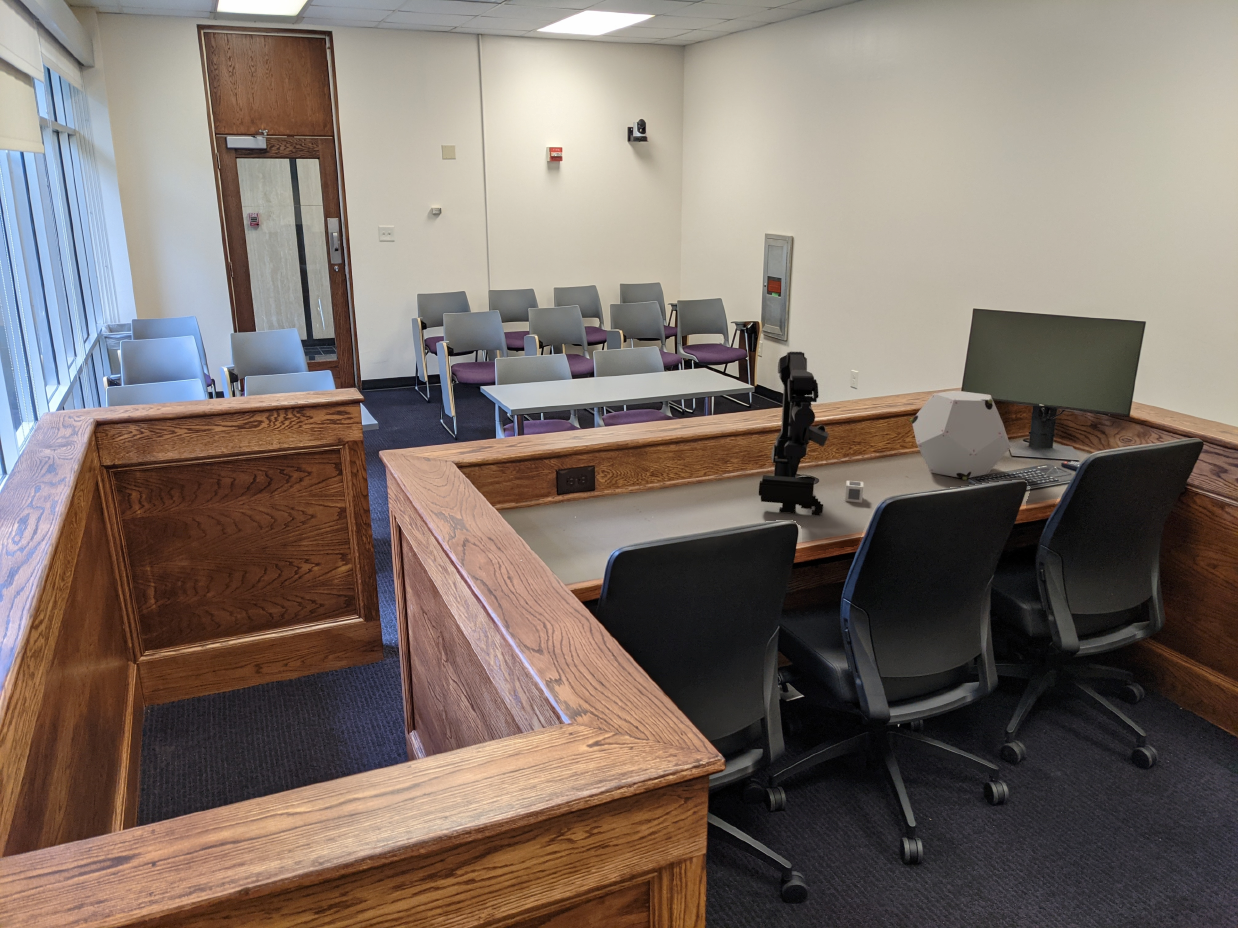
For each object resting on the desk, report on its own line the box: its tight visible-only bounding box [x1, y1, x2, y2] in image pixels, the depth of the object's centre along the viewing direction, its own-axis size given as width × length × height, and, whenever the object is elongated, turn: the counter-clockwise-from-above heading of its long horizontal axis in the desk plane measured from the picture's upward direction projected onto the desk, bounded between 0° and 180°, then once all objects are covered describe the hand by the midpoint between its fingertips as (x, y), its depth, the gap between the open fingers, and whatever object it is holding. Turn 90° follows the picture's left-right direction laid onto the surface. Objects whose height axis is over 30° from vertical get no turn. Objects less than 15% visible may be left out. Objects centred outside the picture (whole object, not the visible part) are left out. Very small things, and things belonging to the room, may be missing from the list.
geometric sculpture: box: [909, 390, 1012, 481], centre depth 291 cm, size 30×30×30 cm
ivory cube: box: [844, 480, 864, 503], centre depth 266 cm, size 5×5×5 cm
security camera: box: [758, 474, 824, 517], centre depth 254 cm, size 7×18×10 cm, turn 77°
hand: (795, 469), depth 256 cm, fingers open, 9 cm apart
